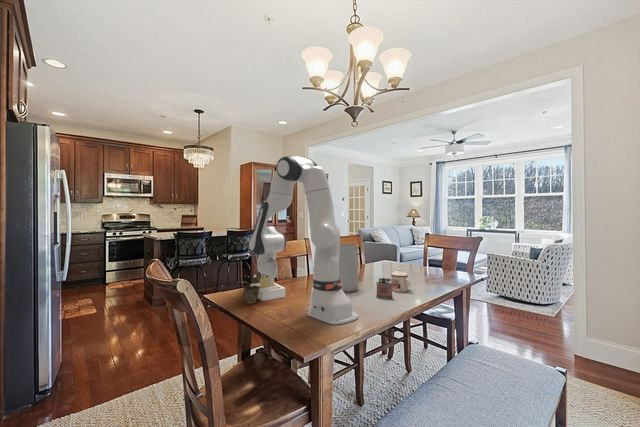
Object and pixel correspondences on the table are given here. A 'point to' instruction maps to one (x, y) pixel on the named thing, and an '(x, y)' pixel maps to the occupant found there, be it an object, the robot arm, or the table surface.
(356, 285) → the cylinder vase
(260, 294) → the rack
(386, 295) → the lighter
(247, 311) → the table surface
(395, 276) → the teacup with lid
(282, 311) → the table surface
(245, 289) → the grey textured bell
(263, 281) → the panel
